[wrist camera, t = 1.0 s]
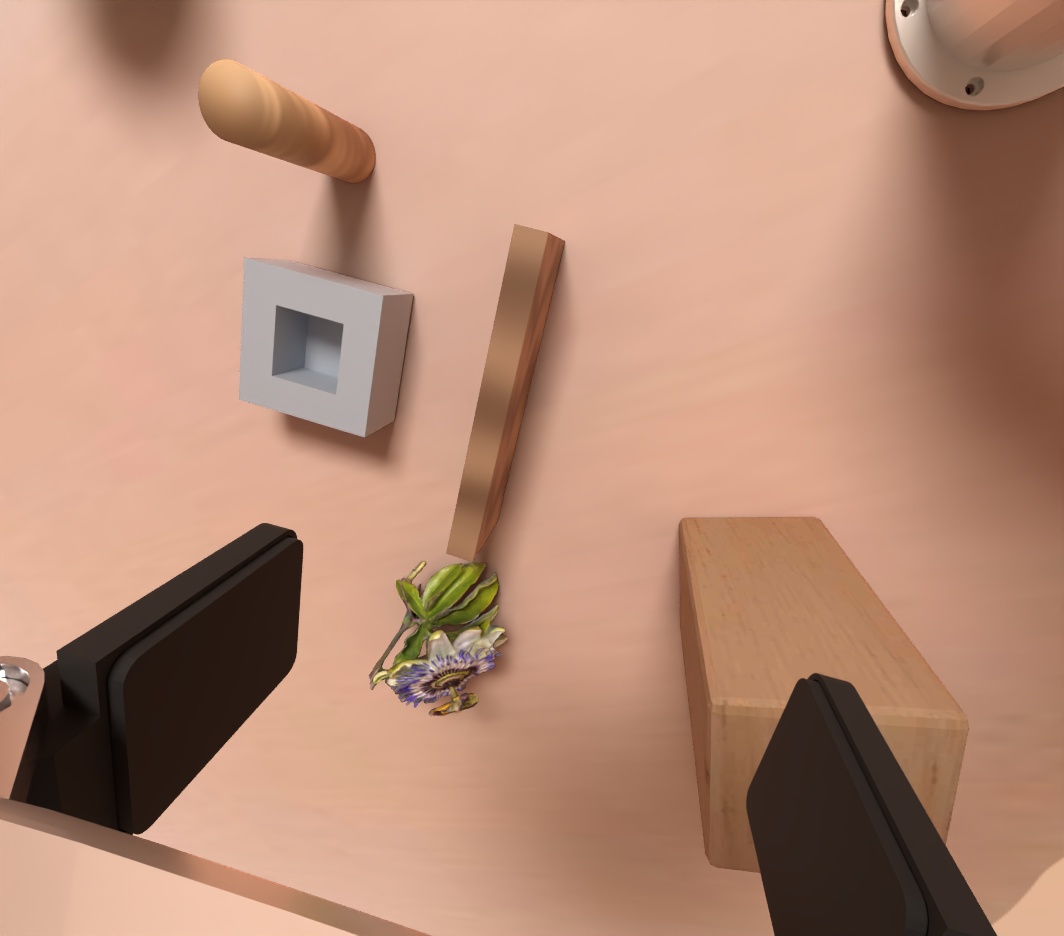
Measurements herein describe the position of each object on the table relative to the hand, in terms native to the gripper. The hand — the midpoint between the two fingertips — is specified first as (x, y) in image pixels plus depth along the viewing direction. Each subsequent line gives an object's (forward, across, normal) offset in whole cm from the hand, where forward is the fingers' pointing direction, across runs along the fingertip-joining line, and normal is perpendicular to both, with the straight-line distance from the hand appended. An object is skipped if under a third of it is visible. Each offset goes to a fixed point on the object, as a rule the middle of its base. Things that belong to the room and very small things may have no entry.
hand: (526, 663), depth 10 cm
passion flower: (+32, +8, +23) cm, 41 cm away
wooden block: (+32, -14, +12) cm, 37 cm away
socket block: (+32, +20, +1) cm, 38 cm away
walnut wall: (+32, +6, +2) cm, 32 cm away
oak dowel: (+32, +21, -12) cm, 40 cm away
